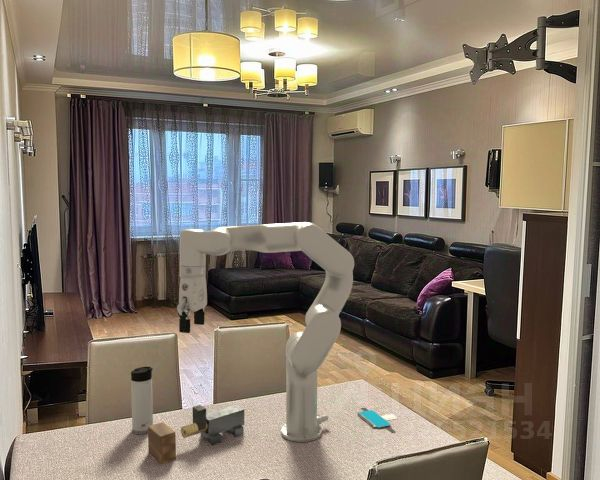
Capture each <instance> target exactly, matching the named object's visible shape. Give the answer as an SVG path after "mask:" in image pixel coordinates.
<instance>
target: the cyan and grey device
mask: <svg viewBox="0 0 600 480" xmlns="http://www.w3.org/2000/svg"><path fill="white" fill-rule="evenodd" d="M360 409H361V410H362V411H360V412H357V414H356V415H357V416H358V417H359V418H360V419H361V420H363V421H364V422H365V423H366V424H367V425H369V426H370V427H371V428H373V429H375V428H378V429H386V430H387V431H389V432H390V433H392V434H394V433H396V431H395V430H394V429H393V428H392V427H391V425H392V423H390V422H389V421H391V420H392V421H393V420H398V419H399V418H398V417H397V416H396V415H394V414H393V413H390V414H385V415H379V413H377V412H376V411H375V410H373V409H367V408H366V407H361V408H360Z"/></svg>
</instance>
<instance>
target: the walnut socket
mask: <svg viewBox="0 0 600 480" xmlns="http://www.w3.org/2000/svg"><path fill="white" fill-rule="evenodd" d="M147 438H148V439H147V441H148V442H147V444H148V449H147V450H148V454H149V456H151V457H152V458H153V459H154V460H155V461H156V462H157V463H159V464H160V465H164V464H167V463H170V462H172V461H175V460H177V450H176V449H177V448H176V447H177V445H176V444H177V441H176V440H177V438H176V431H175V430H174V429H173V428H171V427H170V426H168V425H167V423H165V422H163V421H162V422H158V423H155V424H153V425H151V426H148V433H147Z"/></svg>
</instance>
